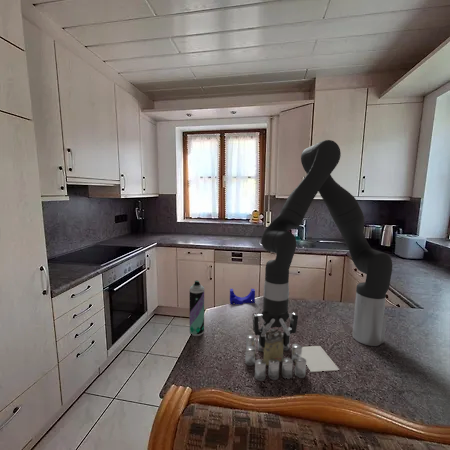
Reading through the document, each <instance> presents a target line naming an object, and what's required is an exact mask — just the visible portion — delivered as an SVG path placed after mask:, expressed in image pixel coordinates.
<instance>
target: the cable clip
mask: <svg viewBox="0 0 450 450" xmlns="http://www.w3.org/2000/svg"><path fill="white" fill-rule="evenodd" d="M251 300H252V301H251ZM255 301H256V290H255V288H250V291H249V293H248V294H247V295H245V296H244V297H241V296H238V295H236V294H235V291H234V289H233V288H229V303H230V304H229V305H243V304H255ZM233 303H235V304H233Z"/></svg>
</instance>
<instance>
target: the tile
mask: <svg viewBox="0 0 450 450" xmlns="http://www.w3.org/2000/svg"><path fill="white" fill-rule="evenodd" d="M301 357H302V358H304V359H305V360H306V365H307V366H306V368H307V369H308V371H309V370H310V371H309V372H310V373H322V371H324V372H335V371H336V372H337V371H338V370H339V371H340V368H339V367H338V366H337V365H336V364H335V362H334V361H333V360H332V359H331V357H330V356H329V355H328V354H327V352H326V351H325V350H324V349H323V347H322V346H321V345H312V346H311V345H310V346H302V356H301Z"/></svg>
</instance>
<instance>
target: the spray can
mask: <svg viewBox="0 0 450 450" xmlns="http://www.w3.org/2000/svg"><path fill="white" fill-rule="evenodd" d="M204 333H205V286H204V285H202V284H201V283H200V281H199V280H194V283H193V284H192V285H191V286H190V287H189V335H191V334H192V335H191V336H194V337H200V336H202V335H204Z"/></svg>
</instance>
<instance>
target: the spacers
mask: <svg viewBox="0 0 450 450" xmlns="http://www.w3.org/2000/svg"><path fill="white" fill-rule="evenodd" d="M281 334H283V332H281ZM265 337H266V334H265ZM290 339H291V337H289V344H287V346H284V344H283V351H289V350H290V341H291V340H290ZM245 341H246V342H245V356H244V357H245V361H244V362H245V365H247V366H250V367H251V366H254V378H255V380H257V381H259V382H262V381H264V380H265V379H266V371H268V375H267V376H268V378H269V380H274V381H276V380H279V377H280V362H279V361H278V360H277V359H270V360H269V366H268V370H267V369H266V367H267V365H266V362H265V361H264V360H263V359H259V358H258V359H256V336H255V334H247V335H246V337H245ZM302 347H303V346H302V345H300V343H293V344H292V345H291V358H290V357H283V359H282V361H281V377H283V378H284V379H286V378H287V379H286V380H291V379H292V378H293V367H294V375H295V376H296V377H297V378H300V379H304V378H306V375H307V374H306V370H307V366H306V360H305V359H304V358H302V357H301V356H302ZM257 351H259V352H263V353H264V348H262V346H261V345H260V343H259V335H257ZM293 361H294V362H293ZM294 364H295V365H294ZM290 378H291V379H290Z"/></svg>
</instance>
